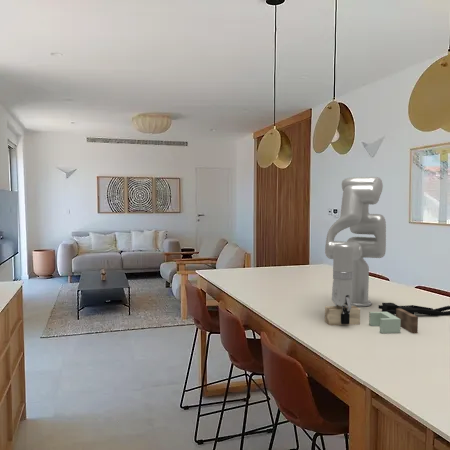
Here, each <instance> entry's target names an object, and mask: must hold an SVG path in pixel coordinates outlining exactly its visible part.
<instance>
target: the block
mask: <svg viewBox="0 0 450 450" xmlns="http://www.w3.org/2000/svg"><path fill="white" fill-rule="evenodd" d="M368 317H369V318H368V325H369V326H370V327H379V333H380V334H401V327H400V325H401V319H399V318H398V317H396V315H395V314H390V313H388V312H382V311H369V315H368Z"/></svg>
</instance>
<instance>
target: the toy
mask: <svg viewBox="0 0 450 450" xmlns="http://www.w3.org/2000/svg"><path fill="white" fill-rule="evenodd" d="M377 308H378V310H381V312H388V313H390V314H392V315H396V309H403V310H405V311H407V312H409V313H411V314H413V315H415V314H419V315H424V316H425V315H426V316H432V317H438V316H439V317H442V316H449V315H450V305H446V306H442V307H438V308H433V307H427V306H421V305H416V304H410V305H397V304H396V303H394V302H382V304H380V305H379V304H378V307H377Z"/></svg>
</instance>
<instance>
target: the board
mask: <svg viewBox="0 0 450 450" xmlns="http://www.w3.org/2000/svg"><path fill="white" fill-rule="evenodd" d="M395 316H396V317H398V318H399V319H401V325H400V328H403V330H406V331H408V332H409V333H410V334H418V331H419V330H418V329H419V326H418V325H419V316H418V315H415V314H414V315H413V314H411V313H409V312H407V311H405V310H403V309H396V314H395Z"/></svg>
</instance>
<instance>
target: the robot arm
mask: <svg viewBox="0 0 450 450" xmlns="http://www.w3.org/2000/svg"><path fill="white" fill-rule="evenodd" d="M383 187H384V185H383V180H382V179H381V178H380V177H377V176H365V177H364V176H359V177H358V176H356V177H355V176H353V177H347V178H344V179H343V180H342V181H341V188H342V198H341V206H340V207H341V208H340V215H339V218H338V219H337V220H336V221H335V222H334V223H333V224H332V225H331V226H330V228H329V229H328V230H327V234H326V238H325V239H326V240H325V246H324V251H325V252H324V253H325V256H326V258H328V259H329V260H332V261H333V262H332V263H333V264H332V280H333V281H332V291H331V301H332V302H333V303H334V306H341V308H342V314H341V324H349V318H350V309H351V306H356V307H370V306H372V300H369V286H370V285H369V282H370V281H369V280H370V279H369V276H370V267H369V264H368V263H367V261H366V258H367V259H369V258H370V259H382V258H384V257H385V255H386V250H387V247H386V246H387V243H386V242H387V239H386V238H387V224H386V223H387V222H386V219H385V216H384V215H383V214H379V213H370V212H369V209H370V208H369V207H370V205H377V203H378V202H379V201H380V198H381V195H382V192H383ZM348 228H349V231H350V232H351V233H352V234H354V235H369V237H368V236H352V237H349V238H348V239H347V240H346V241H344V240H343V241H341V240H340V241H339V240H335V239H336V236H337V235H338V234H339V233H340V232H342V231H344V230H346V229H348ZM370 235H371V236H373V237H371V236H370ZM344 307H346V308H345V309H344Z"/></svg>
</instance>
